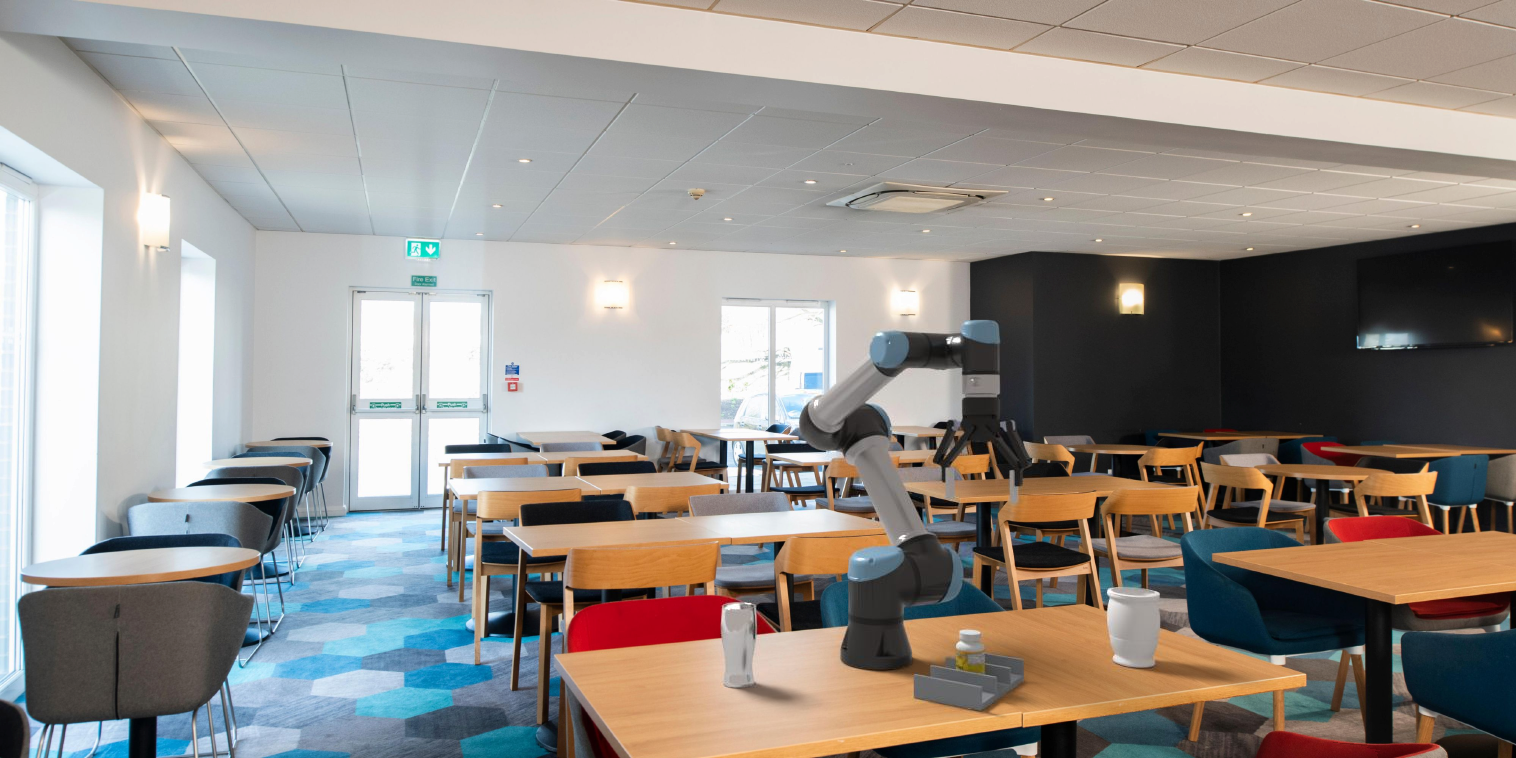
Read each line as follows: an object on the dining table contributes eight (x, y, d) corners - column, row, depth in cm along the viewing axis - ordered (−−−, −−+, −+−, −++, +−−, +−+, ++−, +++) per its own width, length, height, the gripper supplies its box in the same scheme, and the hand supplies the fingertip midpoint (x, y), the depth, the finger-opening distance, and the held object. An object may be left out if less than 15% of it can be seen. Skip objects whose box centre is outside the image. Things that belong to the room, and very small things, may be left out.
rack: (913, 697, 169) (913, 674, 169) (961, 669, 187) (961, 648, 187) (980, 711, 161) (980, 687, 162) (1023, 680, 180) (1023, 659, 180)
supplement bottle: (988, 686, 172) (988, 635, 172) (960, 687, 171) (960, 635, 172) (980, 678, 177) (979, 628, 177) (952, 678, 177) (952, 628, 177)
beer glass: (725, 690, 173) (725, 610, 174) (717, 679, 180) (717, 603, 180) (760, 687, 175) (760, 608, 176) (751, 676, 182) (751, 601, 182)
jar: (1166, 671, 186) (1165, 597, 186) (1112, 668, 188) (1111, 595, 189) (1154, 657, 196) (1153, 587, 197) (1103, 654, 198) (1102, 585, 199)
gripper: (916, 396, 190) (917, 498, 190) (1035, 395, 176) (1036, 506, 175) (932, 396, 196) (932, 495, 196) (1047, 396, 182) (1048, 503, 181)
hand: (981, 501), depth 185 cm, fingers open, 13 cm apart
